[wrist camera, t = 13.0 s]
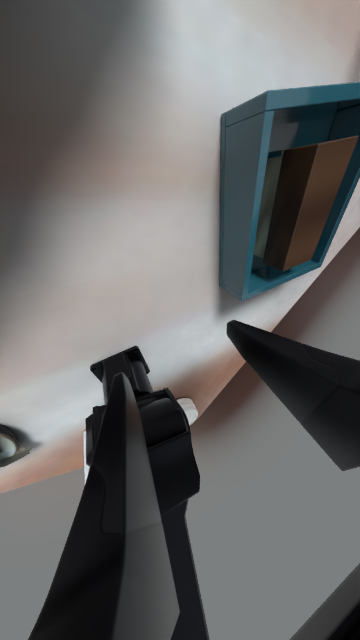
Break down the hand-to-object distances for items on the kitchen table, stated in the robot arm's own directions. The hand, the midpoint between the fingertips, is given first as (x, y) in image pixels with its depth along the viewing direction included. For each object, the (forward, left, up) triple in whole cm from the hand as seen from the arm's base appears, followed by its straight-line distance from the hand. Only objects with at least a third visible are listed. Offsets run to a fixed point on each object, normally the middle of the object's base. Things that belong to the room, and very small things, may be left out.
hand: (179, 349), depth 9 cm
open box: (+2, -17, -12) cm, 21 cm away
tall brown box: (+2, -17, -11) cm, 21 cm away
